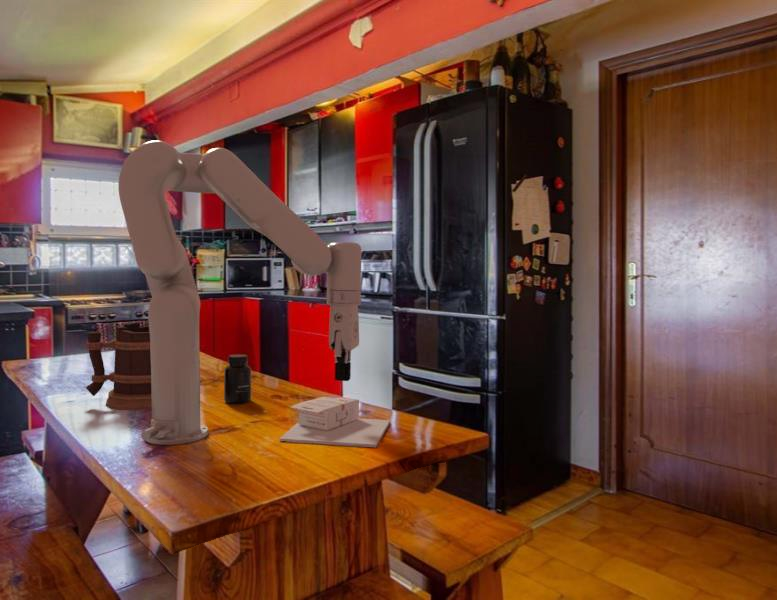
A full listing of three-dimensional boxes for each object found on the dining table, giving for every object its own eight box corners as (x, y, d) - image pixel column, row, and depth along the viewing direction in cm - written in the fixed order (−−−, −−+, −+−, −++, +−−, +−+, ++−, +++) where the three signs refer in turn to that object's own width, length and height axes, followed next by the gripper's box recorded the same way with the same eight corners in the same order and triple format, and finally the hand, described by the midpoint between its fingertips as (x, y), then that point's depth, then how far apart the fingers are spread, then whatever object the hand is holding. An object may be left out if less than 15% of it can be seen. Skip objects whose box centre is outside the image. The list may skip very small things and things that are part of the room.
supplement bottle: (244, 405, 149) (244, 358, 148) (219, 403, 150) (219, 357, 149) (255, 399, 155) (255, 354, 154) (231, 397, 157) (231, 353, 156)
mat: (375, 447, 116) (375, 444, 116) (279, 441, 120) (279, 438, 120) (389, 422, 134) (389, 420, 134) (305, 418, 137) (305, 415, 137)
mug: (82, 400, 152) (80, 323, 151) (173, 390, 165) (172, 319, 163) (91, 416, 137) (89, 331, 135) (190, 404, 149) (190, 326, 148)
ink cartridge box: (330, 414, 139) (287, 427, 127) (330, 394, 139) (287, 405, 126) (359, 420, 134) (318, 434, 122) (360, 399, 134) (318, 410, 122)
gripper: (353, 300, 122) (351, 388, 123) (367, 296, 137) (365, 374, 138) (318, 299, 123) (317, 386, 124) (335, 295, 138) (334, 373, 139)
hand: (342, 379), depth 131 cm, fingers closed
